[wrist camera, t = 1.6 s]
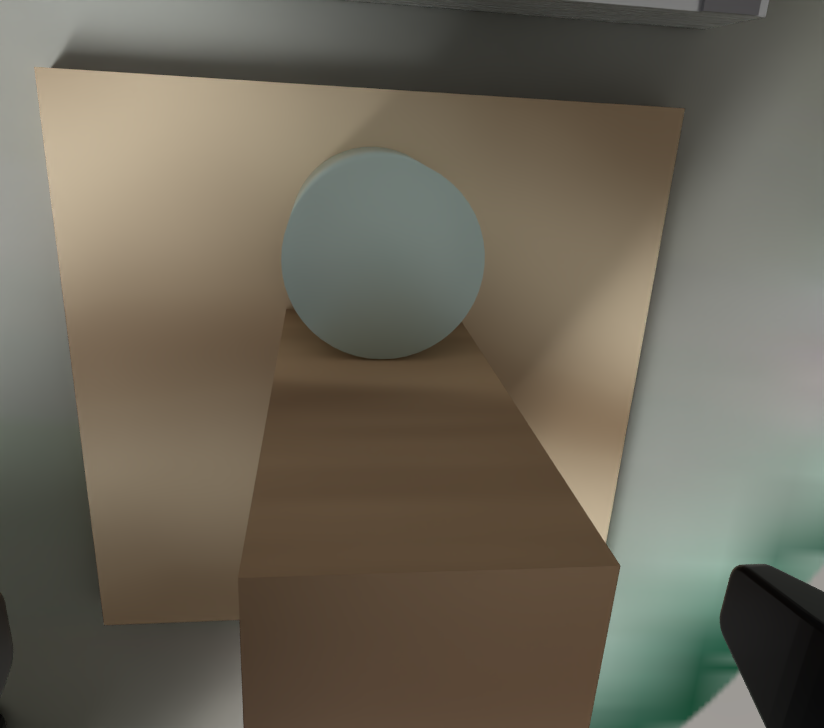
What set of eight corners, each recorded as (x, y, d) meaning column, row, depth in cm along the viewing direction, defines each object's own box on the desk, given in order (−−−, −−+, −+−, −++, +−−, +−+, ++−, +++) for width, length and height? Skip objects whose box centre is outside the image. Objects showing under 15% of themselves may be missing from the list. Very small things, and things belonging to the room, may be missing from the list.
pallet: (578, 575, 19) (817, 1014, 10) (118, 591, 17) (-111, 1134, 8) (656, 108, 15) (1206, 109, 5) (59, 70, 13) (-553, -16, 4)
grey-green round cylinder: (446, 310, 14) (476, 359, 11) (291, 307, 14) (282, 359, 11) (457, 150, 13) (493, 162, 10) (289, 142, 13) (279, 151, 10)
